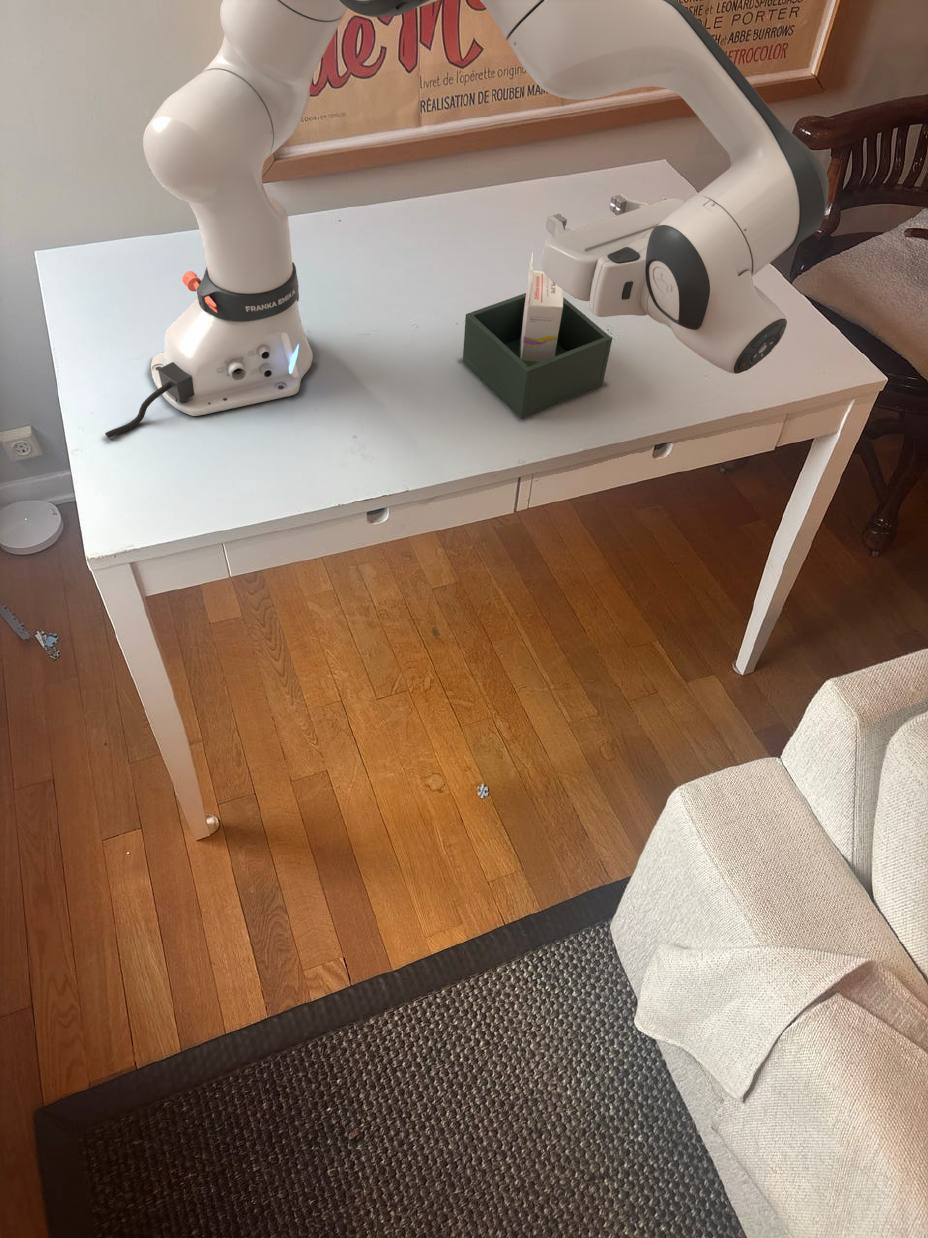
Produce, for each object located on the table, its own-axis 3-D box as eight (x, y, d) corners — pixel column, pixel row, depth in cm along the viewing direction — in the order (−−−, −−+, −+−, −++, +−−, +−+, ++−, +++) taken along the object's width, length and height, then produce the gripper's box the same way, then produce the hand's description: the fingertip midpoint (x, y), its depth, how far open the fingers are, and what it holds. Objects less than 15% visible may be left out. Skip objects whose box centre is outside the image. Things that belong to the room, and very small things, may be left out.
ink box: (552, 379, 137) (567, 288, 125) (518, 376, 137) (529, 284, 125) (553, 342, 142) (567, 251, 131) (519, 339, 142) (530, 248, 131)
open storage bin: (521, 418, 133) (527, 371, 127) (462, 361, 140) (465, 313, 134) (602, 384, 139) (612, 338, 132) (542, 331, 146) (549, 284, 139)
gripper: (737, 219, 107) (656, 163, 114) (595, 269, 99) (516, 206, 106) (722, 270, 112) (645, 213, 119) (585, 321, 104) (511, 257, 111)
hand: (583, 210), depth 112 cm, fingers open, 8 cm apart
